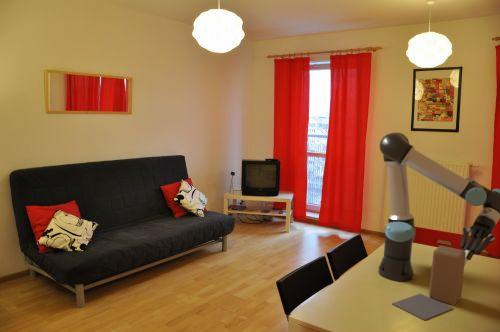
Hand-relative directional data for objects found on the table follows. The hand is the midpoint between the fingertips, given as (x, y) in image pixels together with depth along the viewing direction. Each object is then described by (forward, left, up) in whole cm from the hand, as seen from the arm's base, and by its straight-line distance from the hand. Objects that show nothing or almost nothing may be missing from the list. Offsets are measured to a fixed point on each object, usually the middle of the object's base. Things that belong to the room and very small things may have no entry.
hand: (461, 264), depth 165 cm
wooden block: (-4, -9, -13) cm, 16 cm away
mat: (-10, -22, -12) cm, 27 cm away
